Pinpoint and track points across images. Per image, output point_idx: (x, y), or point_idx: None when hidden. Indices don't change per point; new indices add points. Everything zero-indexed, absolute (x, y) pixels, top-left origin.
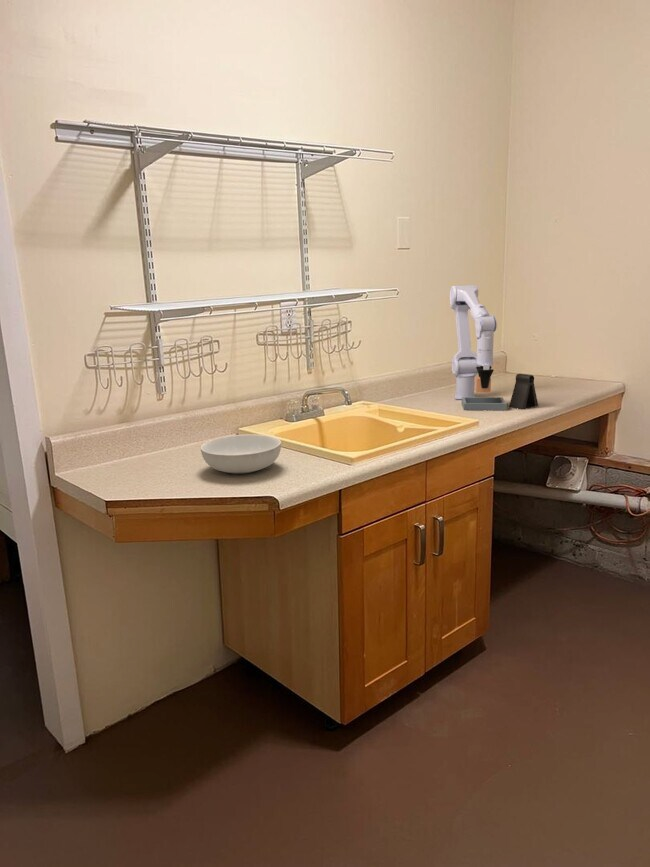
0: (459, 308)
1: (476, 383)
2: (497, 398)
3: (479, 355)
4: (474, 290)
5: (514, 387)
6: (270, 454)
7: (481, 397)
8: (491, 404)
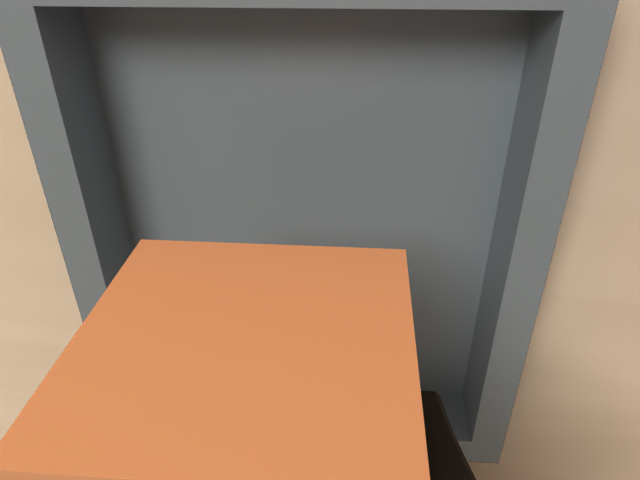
0: None
1: (91, 360)
2: (475, 415)
3: None
4: None
5: None
6: None
7: (528, 270)
8: (87, 313)
